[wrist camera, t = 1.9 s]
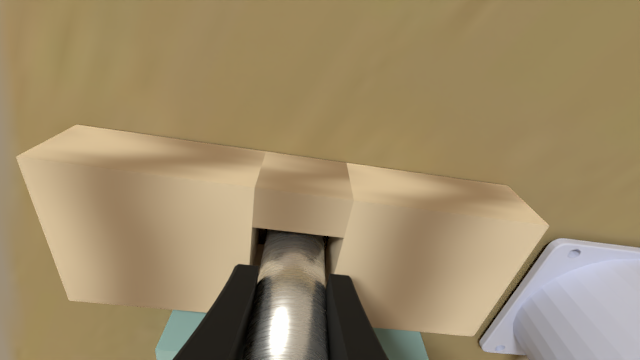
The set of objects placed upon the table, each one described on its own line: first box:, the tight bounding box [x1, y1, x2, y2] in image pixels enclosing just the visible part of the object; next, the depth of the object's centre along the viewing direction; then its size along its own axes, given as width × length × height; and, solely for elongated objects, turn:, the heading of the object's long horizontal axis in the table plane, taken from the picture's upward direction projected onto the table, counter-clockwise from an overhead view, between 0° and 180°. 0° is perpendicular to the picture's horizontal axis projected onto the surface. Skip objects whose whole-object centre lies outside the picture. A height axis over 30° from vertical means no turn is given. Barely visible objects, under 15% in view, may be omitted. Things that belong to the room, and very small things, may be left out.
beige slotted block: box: [16, 125, 549, 336], centre depth 12 cm, size 16×6×2 cm, turn 81°
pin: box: [242, 229, 328, 360], centre depth 10 cm, size 2×2×8 cm
